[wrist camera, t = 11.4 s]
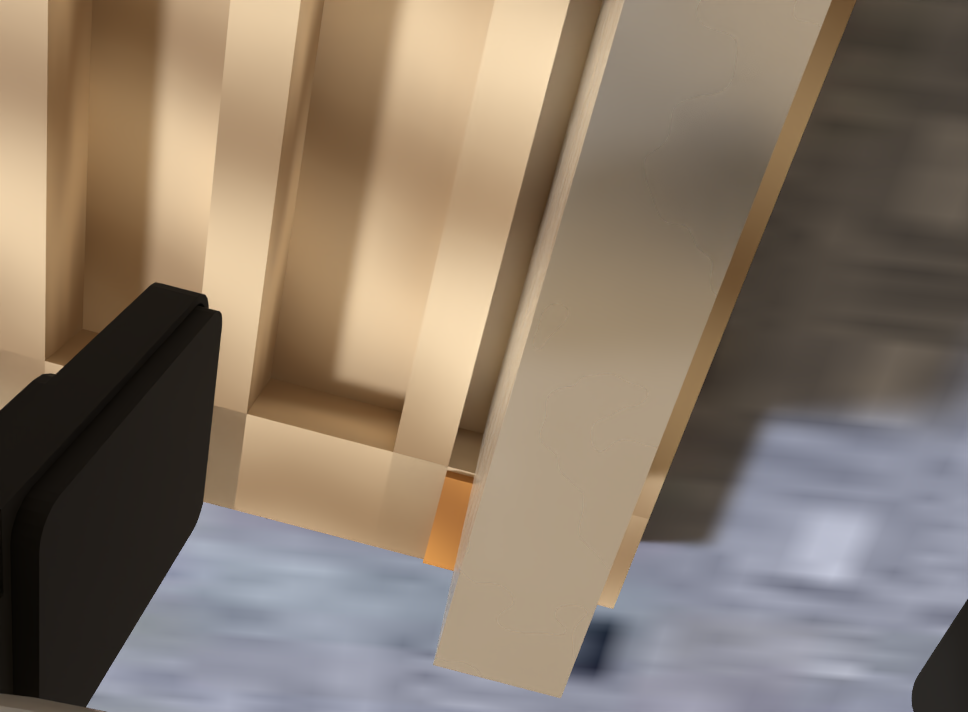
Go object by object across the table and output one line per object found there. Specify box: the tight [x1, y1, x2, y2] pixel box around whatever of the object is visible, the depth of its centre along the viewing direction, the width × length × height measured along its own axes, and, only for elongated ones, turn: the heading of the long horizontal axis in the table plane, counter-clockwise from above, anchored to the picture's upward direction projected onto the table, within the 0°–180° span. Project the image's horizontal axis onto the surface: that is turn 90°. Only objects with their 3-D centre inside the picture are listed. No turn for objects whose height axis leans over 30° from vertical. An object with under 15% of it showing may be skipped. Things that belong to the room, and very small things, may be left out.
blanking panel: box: [433, 0, 832, 698], centre depth 19 cm, size 14×3×10 cm, turn 167°
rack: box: [0, 0, 856, 609], centre depth 22 cm, size 22×18×3 cm
